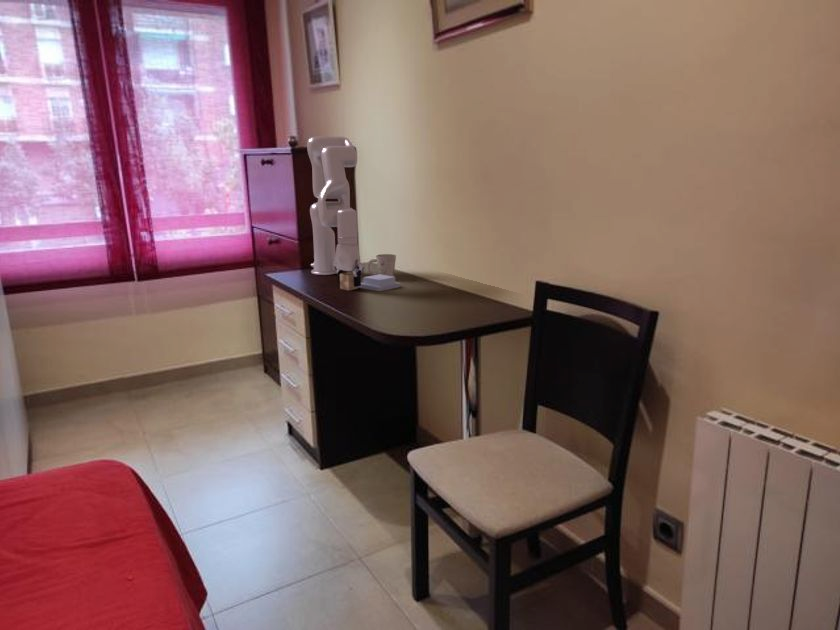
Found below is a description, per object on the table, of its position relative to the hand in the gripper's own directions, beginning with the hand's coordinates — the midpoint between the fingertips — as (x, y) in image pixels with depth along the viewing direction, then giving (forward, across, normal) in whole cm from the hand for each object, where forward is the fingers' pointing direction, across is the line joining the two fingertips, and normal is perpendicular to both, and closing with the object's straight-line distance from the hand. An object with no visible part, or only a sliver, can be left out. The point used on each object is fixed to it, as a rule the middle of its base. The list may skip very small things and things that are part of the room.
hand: (349, 284), depth 233 cm
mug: (+2, -5, +23) cm, 24 cm away
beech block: (+2, 0, 0) cm, 2 cm away
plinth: (+2, +7, +10) cm, 12 cm away
